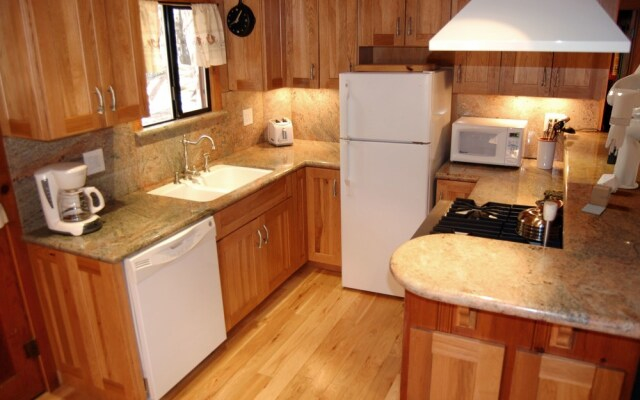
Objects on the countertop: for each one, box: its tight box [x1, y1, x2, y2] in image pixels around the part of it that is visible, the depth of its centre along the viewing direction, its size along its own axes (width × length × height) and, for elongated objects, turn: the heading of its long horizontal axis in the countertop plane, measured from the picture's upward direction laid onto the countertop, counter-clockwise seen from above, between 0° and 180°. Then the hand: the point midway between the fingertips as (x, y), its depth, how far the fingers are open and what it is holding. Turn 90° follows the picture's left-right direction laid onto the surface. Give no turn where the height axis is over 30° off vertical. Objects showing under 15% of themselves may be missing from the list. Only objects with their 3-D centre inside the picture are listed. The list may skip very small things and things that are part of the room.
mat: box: [580, 203, 606, 216], centre depth 212 cm, size 10×7×1 cm
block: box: [589, 183, 612, 208], centre depth 217 cm, size 6×6×8 cm
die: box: [596, 173, 622, 194], centre depth 232 cm, size 8×9×10 cm
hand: (611, 163), depth 218 cm, fingers closed
